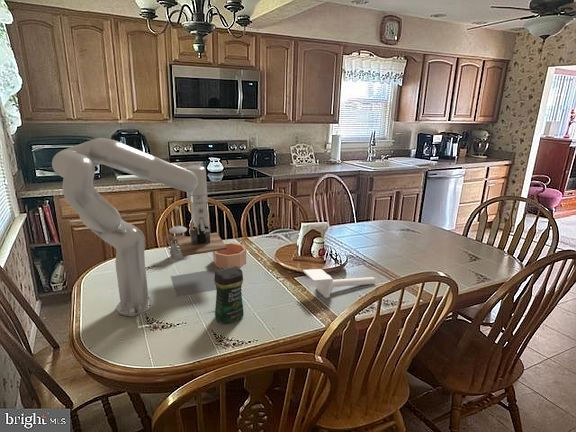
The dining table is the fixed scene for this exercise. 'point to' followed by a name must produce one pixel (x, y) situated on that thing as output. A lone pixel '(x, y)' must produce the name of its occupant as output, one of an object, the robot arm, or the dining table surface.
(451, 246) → the dining table surface
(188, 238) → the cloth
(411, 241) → the dining table surface
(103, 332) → the dining table surface
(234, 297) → the coffee jar
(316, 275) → the white mallet
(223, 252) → the bowl
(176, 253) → the lantern
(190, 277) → the mat
